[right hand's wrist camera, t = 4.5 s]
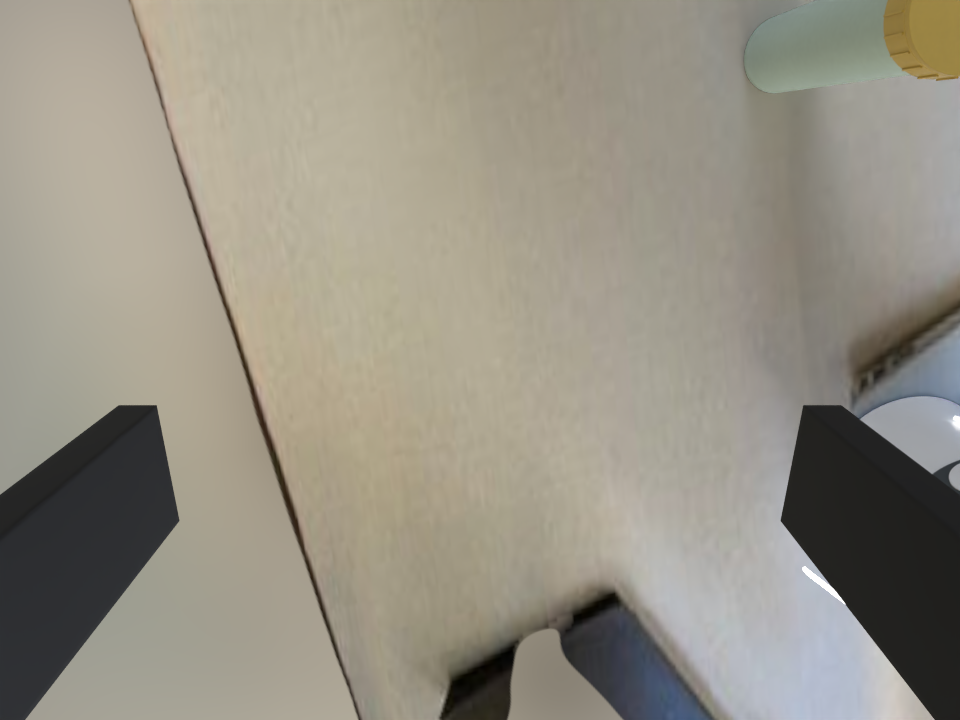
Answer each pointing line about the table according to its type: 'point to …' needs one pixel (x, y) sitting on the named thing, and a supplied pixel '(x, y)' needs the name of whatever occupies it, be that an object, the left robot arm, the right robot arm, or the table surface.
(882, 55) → the green thermos bottle
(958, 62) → the lid
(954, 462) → the left robot arm
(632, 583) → the table surface
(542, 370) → the table surface
